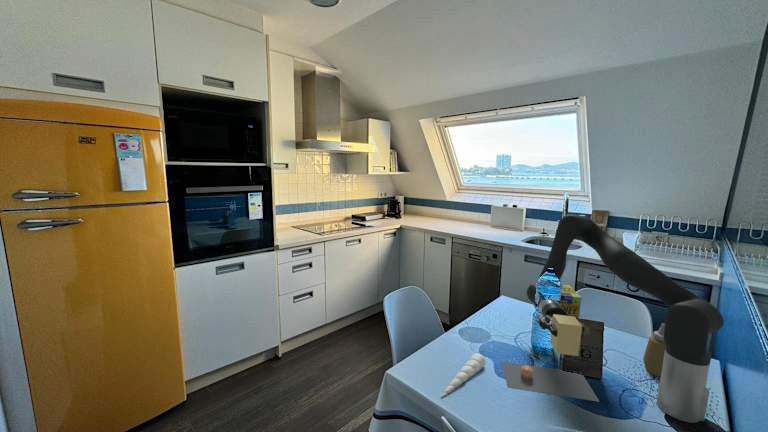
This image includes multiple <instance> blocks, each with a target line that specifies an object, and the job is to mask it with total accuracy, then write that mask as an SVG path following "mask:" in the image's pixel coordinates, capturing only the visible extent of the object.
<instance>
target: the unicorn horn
mask: <svg viewBox="0 0 768 432" xmlns="http://www.w3.org/2000/svg"><path fill="white" fill-rule="evenodd" d="M486 363H487V361H486V359H485V356H483V355H482V354H480V353H479V352H478V353H473V354H472V356H471V357H469V359H468V361H466V363H465V364H464V365H463V367H461V369H460V370H459V371H458V373H457V374H456V375H455V376H454V378H453V379H452V380H451V381H450V383H449V384H448V386H446V388H445V389H444V391H443V392H442V394H441V398H444V397H445V396H448V395H449V394H450V393H451V392H453V391H454V390H455V389H457V388H459V387H460V386H461V385H462V384H464V382H466V381H467V380H469V379H470V378H472V377H473V376H474V375H475V374H477V372H479V371H481V369H483V368H484V367H485V366H486Z"/></svg>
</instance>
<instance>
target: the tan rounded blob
mask: <svg viewBox="0 0 768 432" xmlns="http://www.w3.org/2000/svg"><path fill="white" fill-rule="evenodd" d="M527 365H528V364H523V366H522V367H521V377H522V378H523V379H525V380H532V378H533V368H531V367H530V366H531V365H530V366H527Z"/></svg>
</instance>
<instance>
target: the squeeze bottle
mask: <svg viewBox="0 0 768 432" xmlns="http://www.w3.org/2000/svg"><path fill="white" fill-rule="evenodd" d="M664 328H665V323H661V324H660V327H659V329H658V330H654V331H653V334H652V336H649V338H648V340H647V344H646V347H645V351H644V354H643V358H642V360H643V364H644V368H645V370H646V372H647V373H649V374H650V375H652V376H655V377H658V378H661V372H662V366H663V360H664V353H665V347H666V345H665V342H664Z"/></svg>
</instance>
